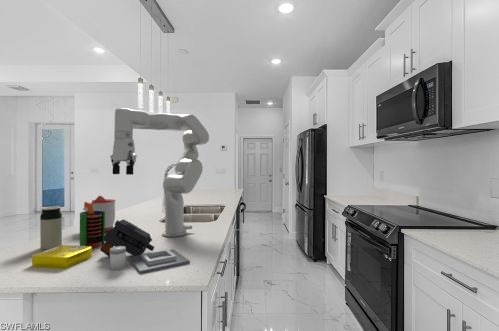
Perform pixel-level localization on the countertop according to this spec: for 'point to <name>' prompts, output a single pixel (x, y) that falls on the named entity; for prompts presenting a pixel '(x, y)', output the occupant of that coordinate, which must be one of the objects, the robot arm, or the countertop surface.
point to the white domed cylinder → (117, 257)
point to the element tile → (61, 256)
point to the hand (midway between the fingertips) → (122, 174)
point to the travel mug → (50, 227)
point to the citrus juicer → (106, 206)
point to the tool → (127, 238)
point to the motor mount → (157, 260)
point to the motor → (92, 227)
